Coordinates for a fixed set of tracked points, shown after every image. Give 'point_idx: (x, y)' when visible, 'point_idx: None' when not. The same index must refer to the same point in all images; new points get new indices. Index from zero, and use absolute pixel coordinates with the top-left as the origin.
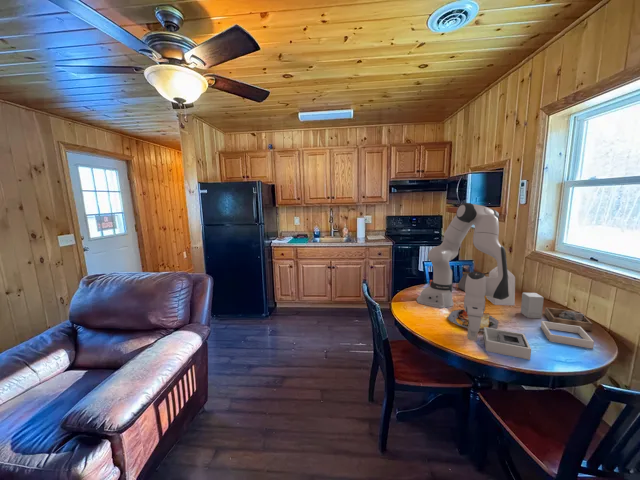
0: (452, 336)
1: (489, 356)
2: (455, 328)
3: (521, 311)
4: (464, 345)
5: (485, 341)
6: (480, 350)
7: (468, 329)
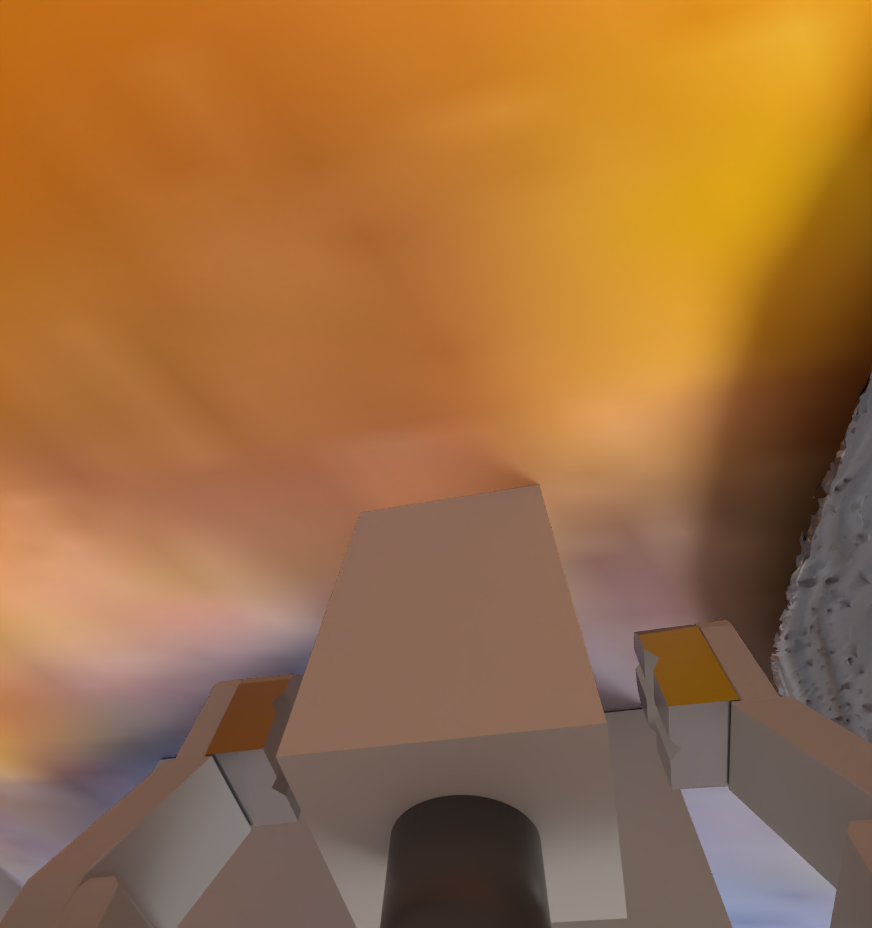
0: (246, 185)
1: (54, 792)
2: (823, 137)
3: None
4: (54, 502)
5: (258, 838)
6: (113, 708)
7: (300, 702)
